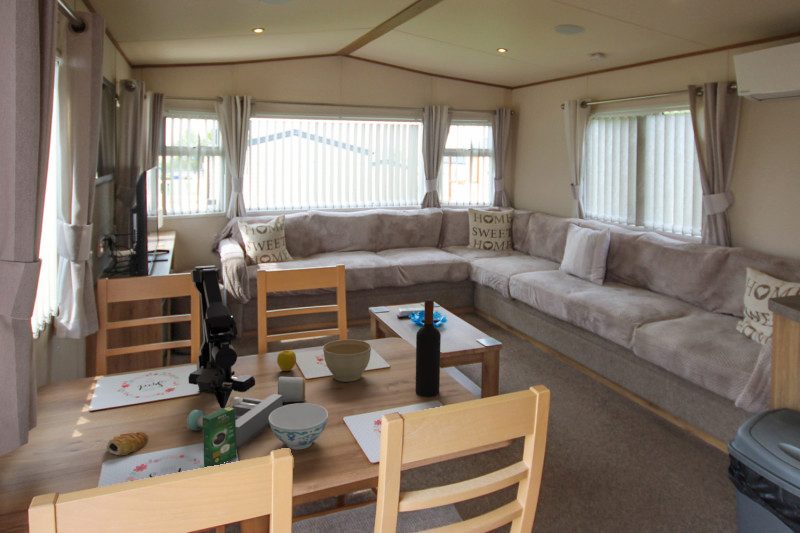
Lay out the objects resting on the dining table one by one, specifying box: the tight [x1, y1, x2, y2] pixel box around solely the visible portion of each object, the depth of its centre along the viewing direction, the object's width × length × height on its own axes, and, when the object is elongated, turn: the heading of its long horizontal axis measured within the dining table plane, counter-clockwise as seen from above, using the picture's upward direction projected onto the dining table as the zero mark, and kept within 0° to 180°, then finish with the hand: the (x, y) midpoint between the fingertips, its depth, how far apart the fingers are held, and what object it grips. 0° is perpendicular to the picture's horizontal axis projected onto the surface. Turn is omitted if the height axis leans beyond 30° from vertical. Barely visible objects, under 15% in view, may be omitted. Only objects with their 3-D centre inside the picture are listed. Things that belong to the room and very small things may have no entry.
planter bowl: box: [322, 339, 372, 383], centre depth 191 cm, size 16×16×11 cm
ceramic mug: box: [277, 376, 306, 403], centre depth 174 cm, size 11×8×8 cm
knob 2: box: [227, 396, 257, 407], centre depth 161 cm, size 9×5×5 cm, turn 71°
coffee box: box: [202, 405, 238, 468], centre depth 136 cm, size 8×3×13 cm, turn 147°
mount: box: [232, 393, 283, 450], centre depth 155 cm, size 11×21×6 cm, turn 161°
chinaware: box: [269, 402, 329, 450], centre depth 146 cm, size 15×15×8 cm
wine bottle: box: [414, 298, 442, 398], centre depth 177 cm, size 8×8×30 cm
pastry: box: [106, 431, 149, 456], centre depth 144 cm, size 9×7×4 cm
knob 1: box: [186, 409, 207, 432], centre depth 152 cm, size 9×5×5 cm, turn 71°
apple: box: [276, 349, 297, 372], centre depth 197 cm, size 6×6×8 cm
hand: (222, 407), depth 164 cm, fingers closed
